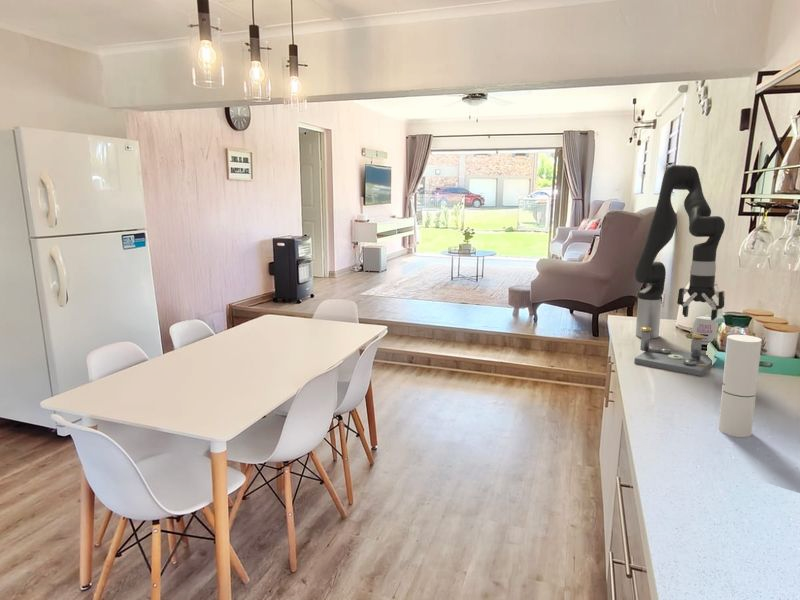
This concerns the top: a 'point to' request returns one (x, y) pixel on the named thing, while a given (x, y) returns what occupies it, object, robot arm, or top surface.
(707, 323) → the supplement can
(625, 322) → the top surface
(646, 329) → the crank
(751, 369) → the cylindrical container
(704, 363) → the board
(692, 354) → the crank
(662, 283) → the robot arm
